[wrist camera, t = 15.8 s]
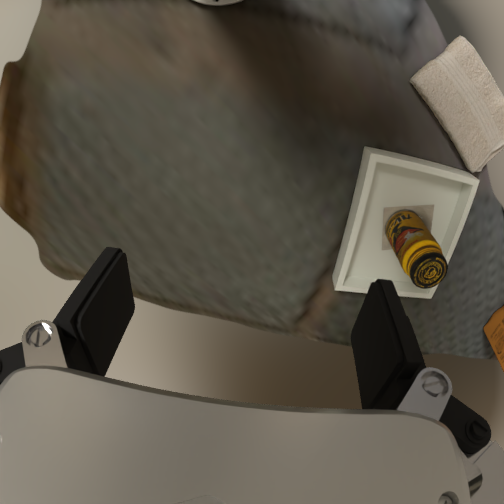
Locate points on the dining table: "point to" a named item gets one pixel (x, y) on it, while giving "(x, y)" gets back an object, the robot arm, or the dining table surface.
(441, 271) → the condiment
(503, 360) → the coffee package
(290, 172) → the dining table surface
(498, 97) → the washcloth
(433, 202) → the tray
